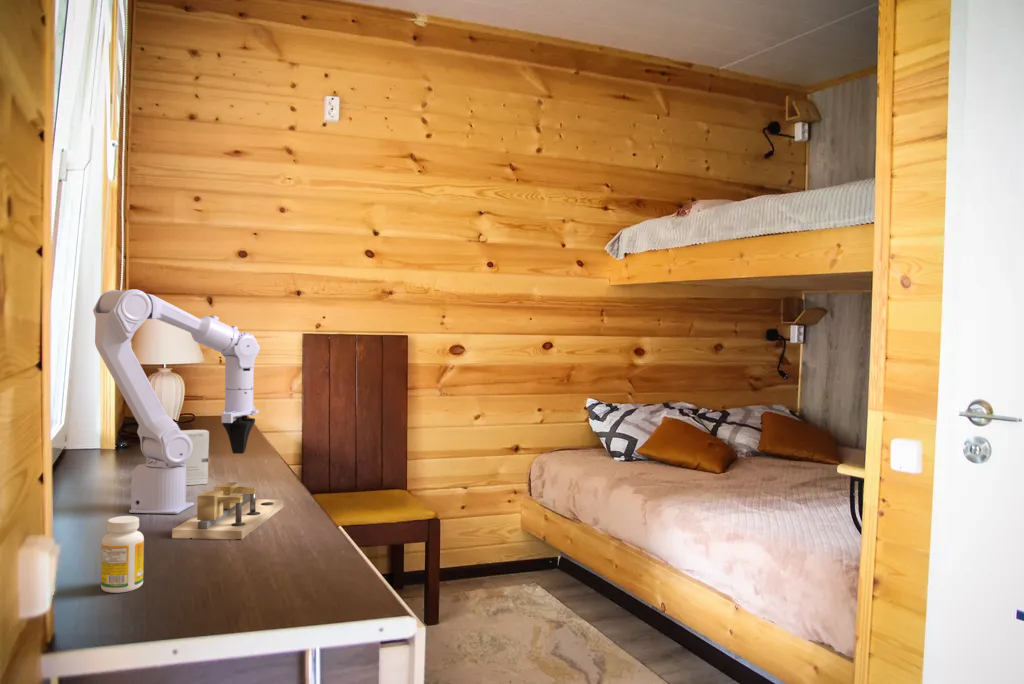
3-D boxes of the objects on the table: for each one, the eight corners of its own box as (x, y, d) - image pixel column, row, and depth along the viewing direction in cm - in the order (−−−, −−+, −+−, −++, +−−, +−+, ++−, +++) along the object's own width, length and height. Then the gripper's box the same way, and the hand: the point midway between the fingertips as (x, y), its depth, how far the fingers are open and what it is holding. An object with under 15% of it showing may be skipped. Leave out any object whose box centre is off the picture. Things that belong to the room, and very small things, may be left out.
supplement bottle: (111, 596, 108) (111, 526, 108) (94, 587, 112) (94, 519, 111) (150, 586, 112) (151, 519, 112) (133, 578, 116) (133, 512, 115)
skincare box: (180, 486, 178) (180, 432, 178) (176, 483, 182) (176, 430, 182) (209, 484, 182) (209, 431, 182) (204, 480, 186) (205, 428, 185)
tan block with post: (213, 513, 146) (214, 486, 146) (221, 508, 150) (222, 482, 150) (251, 514, 146) (252, 487, 146) (258, 509, 150) (259, 483, 150)
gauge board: (172, 538, 137) (172, 497, 137) (224, 505, 161) (224, 471, 161) (241, 539, 137) (242, 499, 137) (283, 507, 161) (283, 472, 161)
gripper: (246, 392, 161) (245, 459, 161) (269, 386, 176) (268, 447, 176) (211, 391, 161) (210, 458, 161) (237, 385, 176) (236, 447, 176)
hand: (238, 453), depth 169 cm, fingers closed
